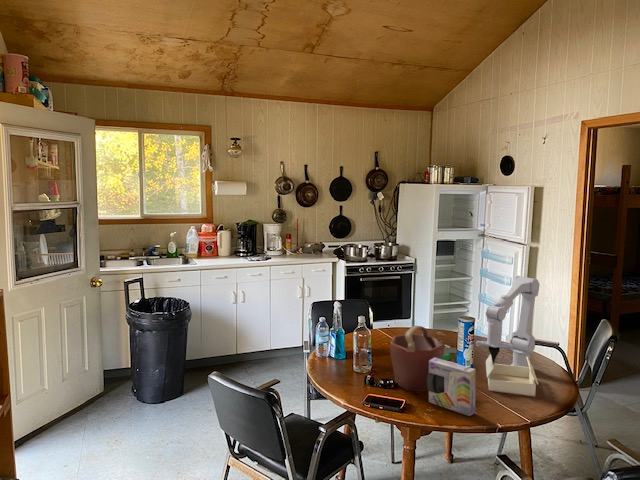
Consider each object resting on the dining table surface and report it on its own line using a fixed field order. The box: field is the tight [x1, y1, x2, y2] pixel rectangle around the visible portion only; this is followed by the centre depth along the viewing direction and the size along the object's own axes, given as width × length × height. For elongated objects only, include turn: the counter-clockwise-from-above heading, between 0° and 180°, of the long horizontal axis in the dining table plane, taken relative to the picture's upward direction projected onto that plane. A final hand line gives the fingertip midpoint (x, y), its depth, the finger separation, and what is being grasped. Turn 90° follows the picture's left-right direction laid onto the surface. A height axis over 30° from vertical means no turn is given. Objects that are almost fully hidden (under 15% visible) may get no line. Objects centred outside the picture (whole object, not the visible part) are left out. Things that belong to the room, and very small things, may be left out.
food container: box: [439, 340, 458, 363], centre depth 235 cm, size 12×6×10 cm, turn 21°
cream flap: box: [526, 357, 539, 386], centre depth 211 cm, size 20×5×1 cm
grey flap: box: [485, 354, 494, 379], centre depth 216 cm, size 20×5×1 cm
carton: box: [487, 363, 537, 397], centre depth 214 cm, size 20×18×5 cm
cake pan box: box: [427, 358, 477, 417], centre depth 191 cm, size 19×5×18 cm, turn 45°
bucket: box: [389, 325, 445, 392], centre depth 213 cm, size 24×22×25 cm
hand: (492, 363), depth 215 cm, fingers closed, pressing on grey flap
